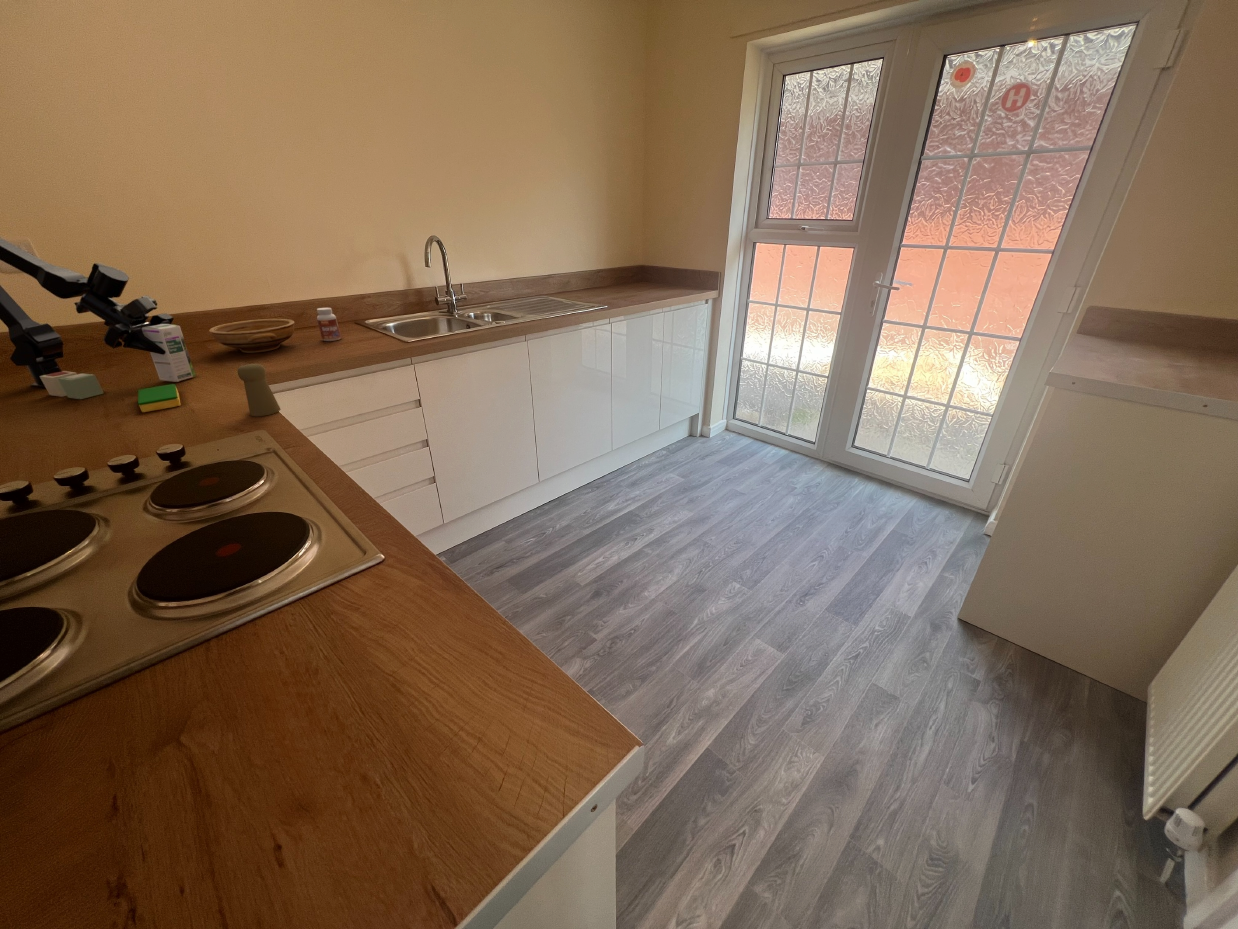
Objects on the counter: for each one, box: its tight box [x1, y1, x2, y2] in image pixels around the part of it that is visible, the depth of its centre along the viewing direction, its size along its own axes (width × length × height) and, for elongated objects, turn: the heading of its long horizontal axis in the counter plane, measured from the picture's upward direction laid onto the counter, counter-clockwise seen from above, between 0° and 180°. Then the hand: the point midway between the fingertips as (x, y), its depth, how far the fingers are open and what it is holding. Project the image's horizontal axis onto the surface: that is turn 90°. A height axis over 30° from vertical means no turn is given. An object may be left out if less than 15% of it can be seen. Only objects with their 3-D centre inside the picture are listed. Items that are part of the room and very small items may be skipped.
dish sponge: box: [137, 383, 182, 413], centre depth 122 cm, size 7×14×2 cm, turn 40°
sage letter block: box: [59, 372, 104, 400], centre depth 127 cm, size 5×5×5 cm
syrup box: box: [142, 323, 197, 383], centre depth 137 cm, size 6×6×14 cm
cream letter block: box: [40, 370, 78, 398], centre depth 129 cm, size 5×5×5 cm
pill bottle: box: [316, 307, 342, 342], centre depth 181 cm, size 6×6×11 cm
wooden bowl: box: [208, 318, 295, 354], centre depth 171 cm, size 30×24×8 cm
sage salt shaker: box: [237, 363, 281, 417], centre depth 113 cm, size 6×6×11 cm
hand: (173, 350), depth 137 cm, fingers closed on syrup box, 6 cm apart
